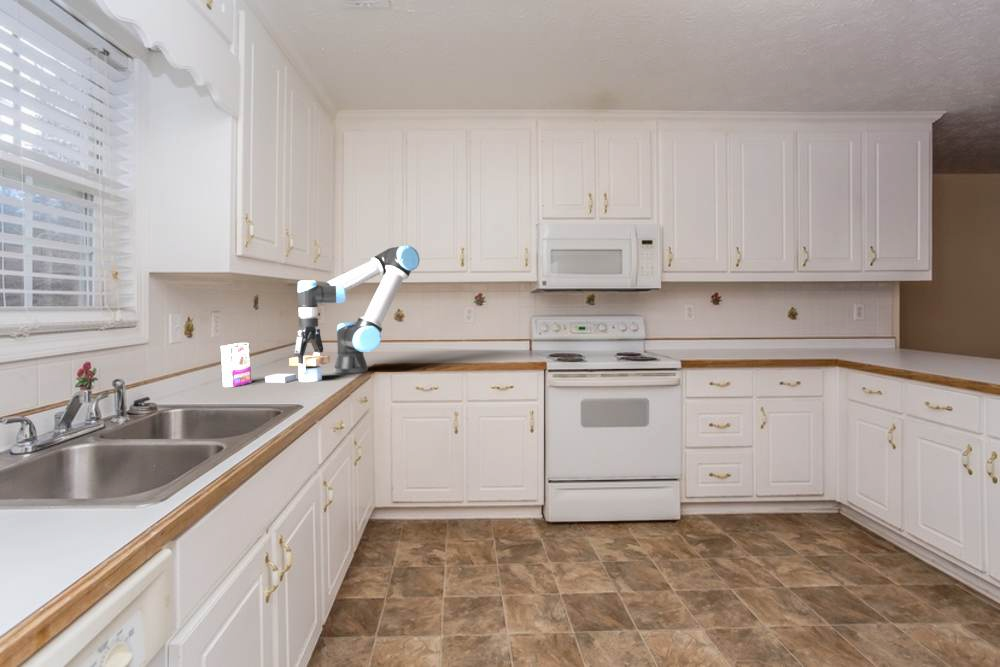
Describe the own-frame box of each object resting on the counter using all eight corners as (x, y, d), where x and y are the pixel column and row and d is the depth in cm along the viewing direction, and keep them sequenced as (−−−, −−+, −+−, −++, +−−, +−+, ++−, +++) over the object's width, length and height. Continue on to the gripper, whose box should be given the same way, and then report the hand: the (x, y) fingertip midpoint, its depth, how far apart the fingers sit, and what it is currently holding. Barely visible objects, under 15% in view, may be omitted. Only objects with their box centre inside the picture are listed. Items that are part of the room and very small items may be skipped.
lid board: (304, 362, 218) (303, 355, 218) (329, 362, 216) (329, 355, 216) (289, 365, 207) (289, 358, 207) (316, 366, 205) (315, 358, 205)
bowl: (306, 378, 217) (306, 365, 216) (324, 378, 215) (324, 366, 215) (295, 381, 208) (294, 368, 208) (314, 382, 207) (313, 368, 207)
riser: (277, 379, 215) (276, 373, 214) (296, 379, 213) (296, 374, 213) (265, 382, 207) (264, 376, 207) (285, 382, 205) (284, 376, 205)
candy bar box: (240, 382, 207) (239, 342, 206) (251, 382, 206) (250, 343, 205) (221, 387, 196) (219, 345, 195) (233, 387, 195) (231, 345, 194)
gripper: (315, 316, 222) (316, 365, 224) (283, 318, 199) (285, 373, 201) (330, 316, 221) (332, 366, 222) (300, 318, 198) (302, 373, 199)
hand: (310, 369), depth 212 cm, fingers closed on lid board, 11 cm apart
